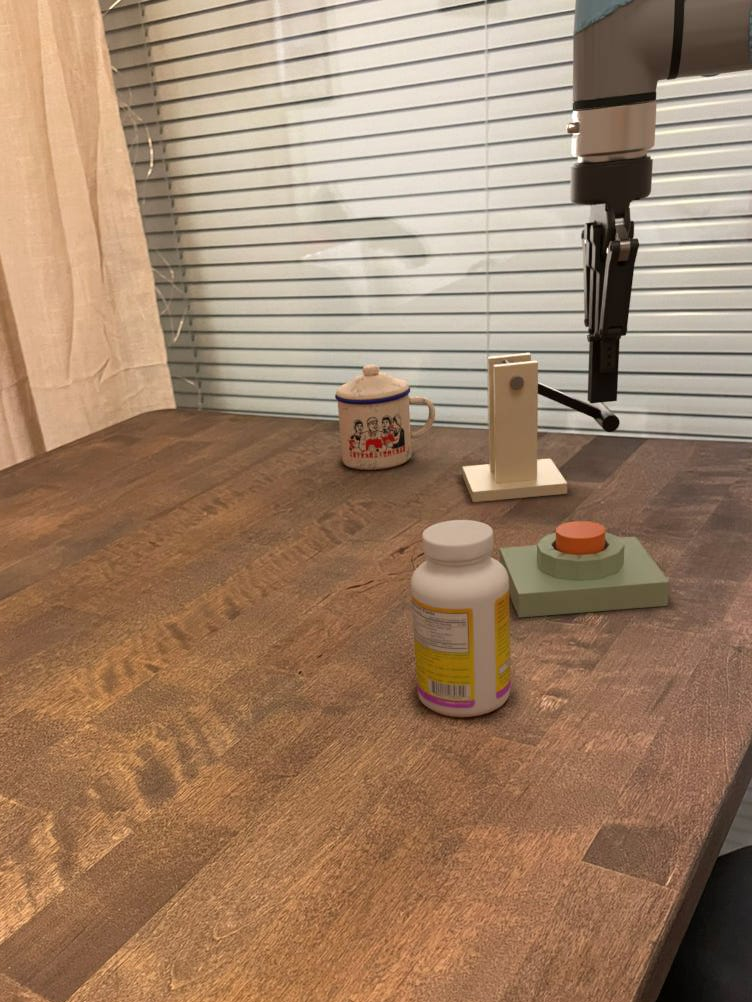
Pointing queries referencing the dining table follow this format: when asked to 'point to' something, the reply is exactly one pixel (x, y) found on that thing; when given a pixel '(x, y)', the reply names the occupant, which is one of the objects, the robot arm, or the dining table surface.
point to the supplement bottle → (461, 621)
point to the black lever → (581, 406)
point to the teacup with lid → (377, 420)
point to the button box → (583, 578)
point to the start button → (580, 538)
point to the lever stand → (513, 437)
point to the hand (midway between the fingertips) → (602, 400)
